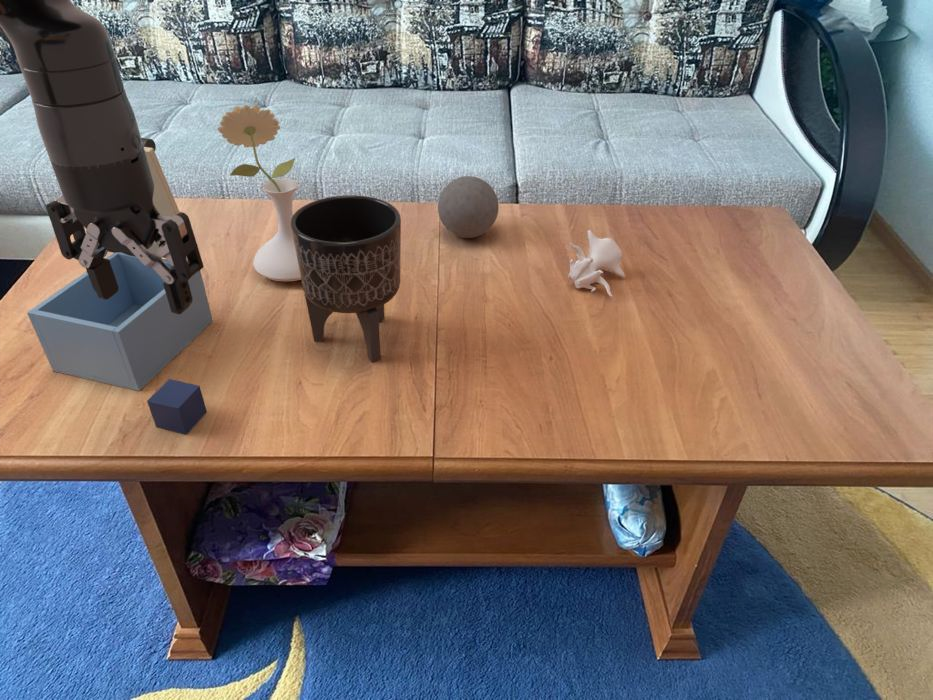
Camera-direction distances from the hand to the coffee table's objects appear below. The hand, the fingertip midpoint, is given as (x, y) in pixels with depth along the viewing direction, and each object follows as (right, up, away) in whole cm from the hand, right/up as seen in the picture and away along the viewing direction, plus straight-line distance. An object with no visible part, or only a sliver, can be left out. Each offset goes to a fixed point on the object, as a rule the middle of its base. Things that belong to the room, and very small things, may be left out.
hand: (145, 302), depth 69 cm
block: (0, -13, +9) cm, 16 cm away
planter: (+18, -3, +22) cm, 29 cm away
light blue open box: (-11, -4, +20) cm, 23 cm away
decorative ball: (+33, +15, +47) cm, 59 cm away
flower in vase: (+5, +8, +36) cm, 38 cm away
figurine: (+52, +5, +35) cm, 63 cm away
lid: (-9, +13, +14) cm, 21 cm away
